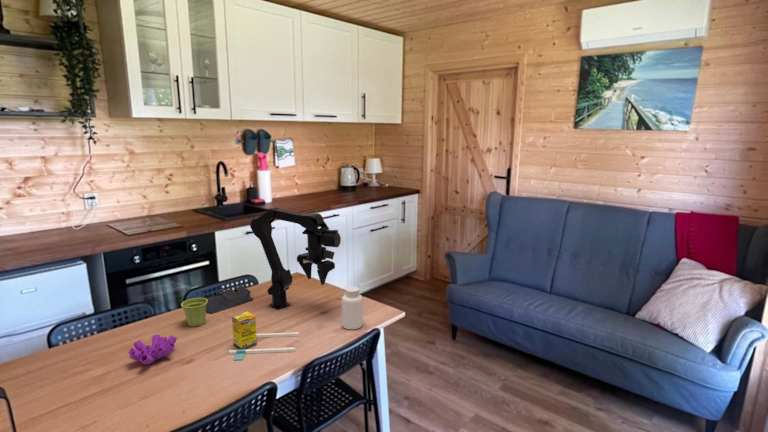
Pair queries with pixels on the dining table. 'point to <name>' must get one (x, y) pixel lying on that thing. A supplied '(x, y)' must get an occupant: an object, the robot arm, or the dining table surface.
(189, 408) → the dining table surface
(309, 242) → the robot arm
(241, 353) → the channel
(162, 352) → the purple coral
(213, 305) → the dark slate chunk
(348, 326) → the pill bottle
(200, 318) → the plant pot
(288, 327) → the dining table surface
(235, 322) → the supplement box
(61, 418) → the dining table surface
